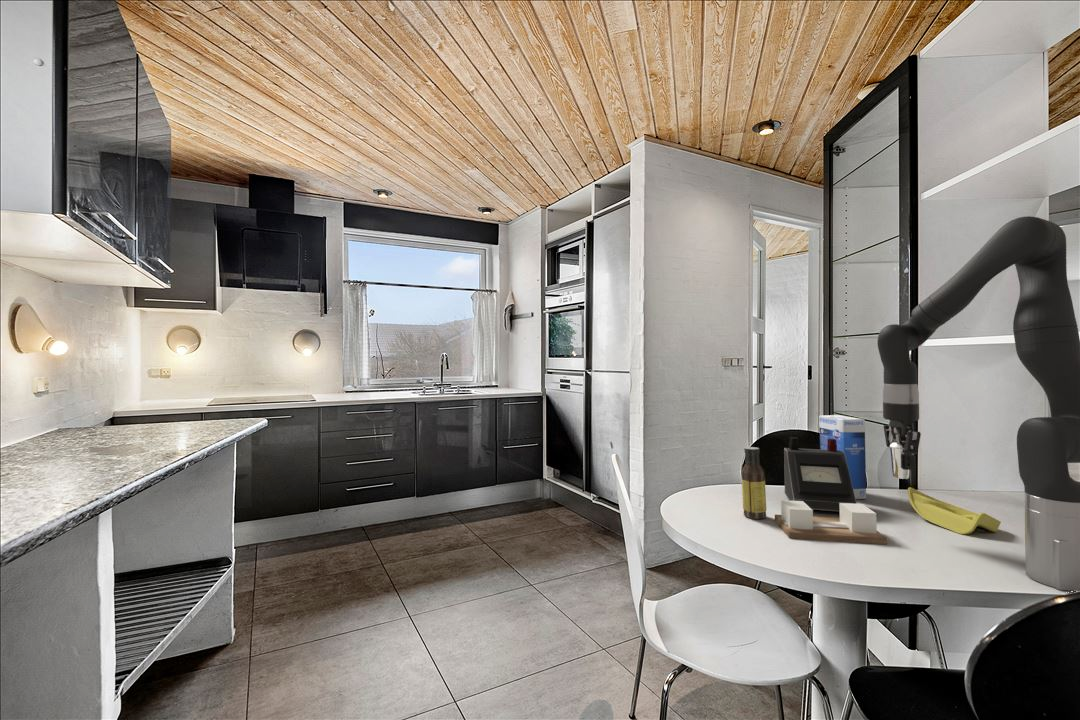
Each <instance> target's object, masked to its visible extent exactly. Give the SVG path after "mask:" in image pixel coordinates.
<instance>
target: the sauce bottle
mask: <svg viewBox="0 0 1080 720" xmlns="http://www.w3.org/2000/svg"><path fill="white" fill-rule="evenodd" d="M760 451H761V450H760V448H759V447H755V446H746V447H744V454H745V461H744V462H745V464H744V466H743V467H742V469H741V490H742V492H741V493H742V509H743V516H744V517H745V518H747V519H750V520H751V519H752V520H762V519H765V518H766V517H767V512H766V511H767V497H766V477H765V471H764V469H763V467H762V465H761V463H760V462H761V461H760V453H761V452H760Z"/></svg>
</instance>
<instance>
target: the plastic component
mask: <svg viewBox="0 0 1080 720" xmlns="http://www.w3.org/2000/svg"><path fill="white" fill-rule="evenodd" d="M907 497H908V499H909V502H910V505H911V506H912V508H913V509H914V511H916V513H917V514H918V515H919V516H921V518H923V519H924V520H926V521H928V522H930V523H932V524H934V525H937V526H939V527H941V528H944V529H946V530H949V531H952V532H954V533H957V534H959V535H970V534H971V533H973V532H974V531H975V530H976V529H977V527H978V528H981V529H984V530H986V531H990V532H992V533H996V532H997V531H998V530H999V527H1000V525H1001V523H1002V521H1000V520H999V519H997V518H995V517H992V516H991V515H989V514H987V513H985V512H979V513H976V512H973V511H971V510H969V509H965V508H962V507H959V506H956V505H954V504H951V503H948V502H946V501H944V500H940V499H938V498H935V497H933V496H929V495H927V494H926V493H923V492H921V491H919V490H917V489H915V488H914V487H911V486H909V487H908V488H907Z"/></svg>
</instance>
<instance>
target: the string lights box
mask: <svg viewBox="0 0 1080 720" xmlns="http://www.w3.org/2000/svg"><path fill="white" fill-rule="evenodd" d="M818 420H819V421H818V422H819V450H827V444H828V439H836V444H837V450H841V451H842V452H844V453H845V457H846V461H847V465H848V469H849V474H850V478H851V482H852V486H853V491H854V495H855V499H856V500H864V499H865V500H867V474H866V472H867V469H866V468H867V467H866V465H867V464H866V463H867V462H866V426H865V425H866V421H865V420H866V419H864V418H858V417H854V416H852V417H851V416H847V415H840V414H830V415H829V414H828V415H823V414H821V415H819V416H818Z"/></svg>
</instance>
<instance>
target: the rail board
mask: <svg viewBox="0 0 1080 720" xmlns="http://www.w3.org/2000/svg"><path fill="white" fill-rule="evenodd" d="M774 521H775V522H776V523H777V524H778V526H779V527H780V529H782V531H783V532H784V534H785V535H786V536H787V537H788V539H800V540H815V541H816V540H817V541H828V542H831V541H832V542H833V541H834V542H847V543H859V544H860V543H862V544H874V545H875V544H878V545H888V538H887V536H885V535H883V534H882V533H881V532H880V531H878V530H877V533H861V532H852V531H850V530H849V527H847V526H846V525H845V524H844V523H843V522H840V517H829V516H827V517H825V516H813V530H811V529H794V528H789V527H788V524H787V523H786V522H785V520H784V519H782V518H781V514H774Z"/></svg>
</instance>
